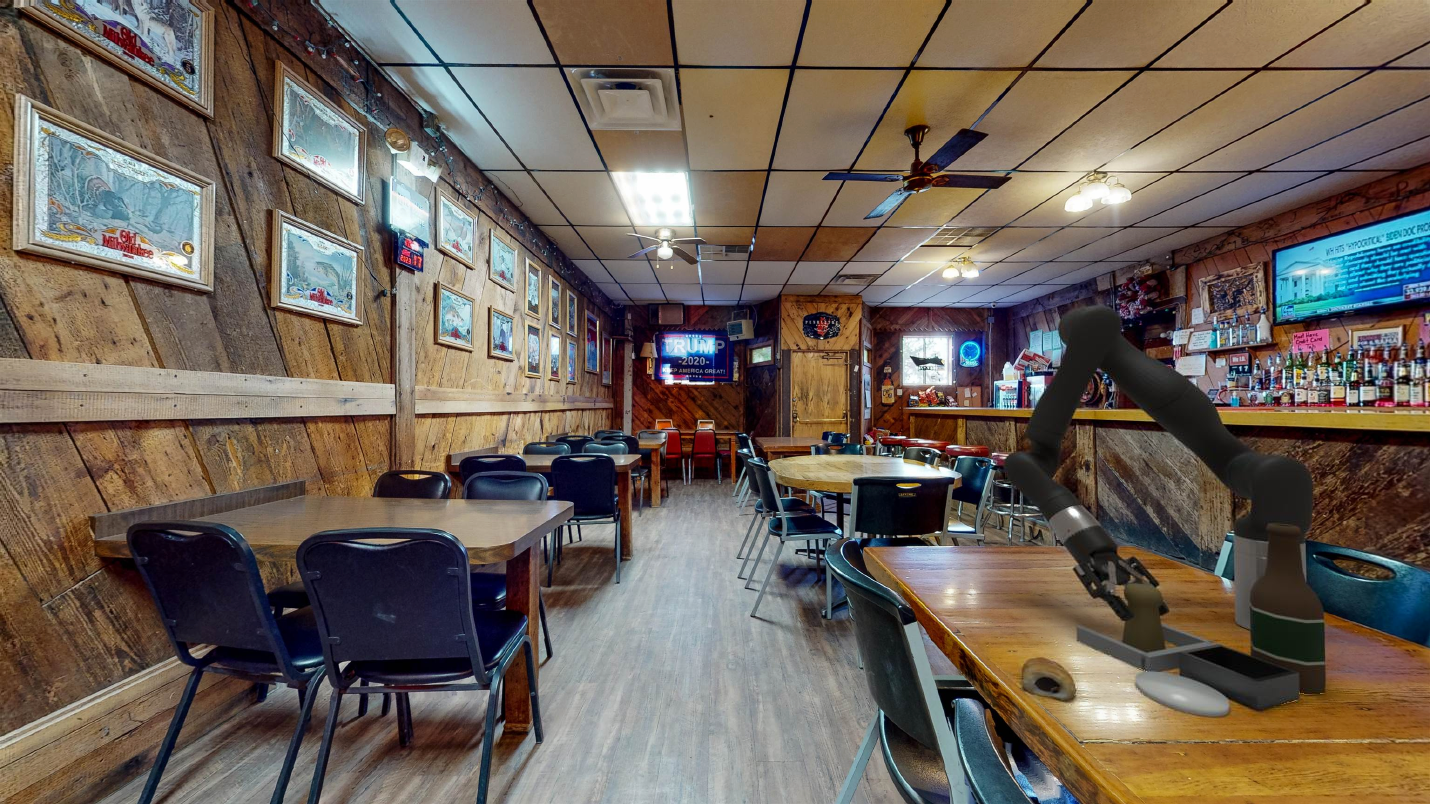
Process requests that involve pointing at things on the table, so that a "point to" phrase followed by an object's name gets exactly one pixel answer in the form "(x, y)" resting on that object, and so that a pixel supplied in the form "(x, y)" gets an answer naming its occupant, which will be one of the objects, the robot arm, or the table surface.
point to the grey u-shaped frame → (1139, 658)
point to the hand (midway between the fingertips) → (1147, 616)
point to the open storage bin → (1240, 676)
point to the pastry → (1047, 679)
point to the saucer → (1182, 694)
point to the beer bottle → (1288, 613)
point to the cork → (1143, 618)
